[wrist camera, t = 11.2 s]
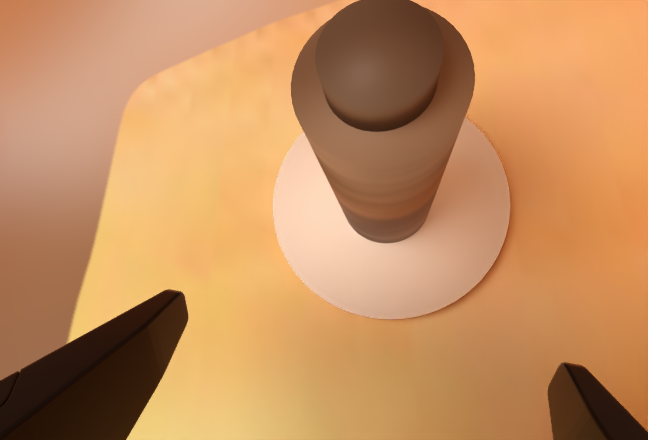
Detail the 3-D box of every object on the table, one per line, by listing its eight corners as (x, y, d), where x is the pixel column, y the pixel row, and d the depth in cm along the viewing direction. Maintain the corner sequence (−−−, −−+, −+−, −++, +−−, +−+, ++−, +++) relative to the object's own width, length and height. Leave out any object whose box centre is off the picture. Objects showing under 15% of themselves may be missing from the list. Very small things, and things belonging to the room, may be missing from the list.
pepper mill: (444, 224, 21) (524, 94, 8) (360, 256, 22) (316, 177, 9) (409, 147, 22) (433, -66, 10) (330, 179, 23) (254, 13, 10)
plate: (518, 318, 20) (524, 318, 20) (275, 319, 23) (270, 320, 22) (492, 92, 23) (496, 82, 22) (279, 111, 25) (275, 103, 24)
